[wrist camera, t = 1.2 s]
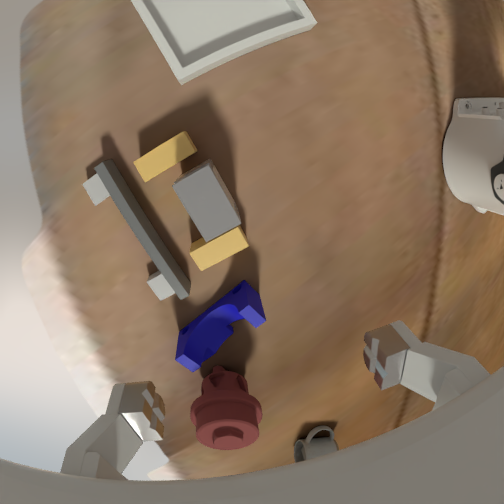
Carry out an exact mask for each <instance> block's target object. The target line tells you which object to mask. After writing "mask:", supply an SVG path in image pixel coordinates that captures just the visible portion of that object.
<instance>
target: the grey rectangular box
mask: <svg viewBox="0 0 504 504" xmlns="http://www.w3.org/2000/svg"><path fill="white" fill-rule="evenodd" d="M174 183H175V184H173V185H172V187H173V189H174V190H175V192H176V194H177V195H178V197H179V199H180V200H181V202H182V204H183V205H184V207H185V209H186V210H187V212H188V214H189V215H190V217H191V218H192V220H193V222H194V223H195V225H196V227H197V228H198V230H199V232H200V233H201V235H202V236H203V238H204V240H205V241H206V242H208V241H210V240H211V239H213V238H215V237H217V236H219V235H221V234H223V233H224V232H226V231H228V230H230V229H232V228H234V227H236V226H238V225H239V224H241V220H240V215H239V211H238V207H237V205H236V203H235V201H234V200H233V198H232V196H231V194H230V193H229V191H228V189H227V187H226V185H225V184H224V182H223V180H222V178H221V176H220V175H219V173H218V171H217V169H216V168H215V166H214V164H213V162H212V160H211V158H210V159H208V160H206V161H204V162H203V163H201V164H199V165H197V166H196V167H194V168H192V169H190V170H189V171H187V172H185V173H183V174H182V175H180V176H179V178H178V179H177V180H176V181H175V182H174Z"/></svg>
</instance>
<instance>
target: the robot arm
mask: <svg viewBox="0 0 504 504" xmlns="http://www.w3.org/2000/svg"><path fill="white" fill-rule="evenodd" d="M443 167H444V173H445V177H446V180H447V183H448V185H449V188H450V189H451V191H452V193H453V194H454V195H455V196H456V197H457V198H458V199H459V200H461V201H462V202H465V203H469V204H471V205H473V207H474V208H475V209H476V210H477V211H478V212H480V213H485V212H486V211H487V210H489V211H492V212H495V213H498V214H501V215H504V98H502V97H480V98H457V99H456V100H455V101H454V106H453V117H452V121H451V123H450V125H449V127H448V130H447V133H446V136H445V140H444V145H443ZM364 341H365V343H366V344H367V345H366V346H365V348H364V353H363V356H364V361H365V364H366V366H367V368H368V370H369V371H370V372H373V373H375V376H374V379H375V381H376V383H377V384H378V386H379V387H380V389H381V390H383V389H386V388H389V387H391V386H394V385H397V384H399V383H401V385H403V386H405V387H407V388H409V389H411V390H413V391H415V392H416V393H418V394H420V395H422V396H424V397H426V398H428V399H430V400H432V401H434V402H435V405H434V407H433V410H432V411H431V412H429V413H427V414H425V415H423V416H421V417H419V418H417V419H415V420H413V421H411V422H409V423H407V424H405V425H402V426H400V427H398V428H396V429H393V430H391V431H389V432H386V433H384V434H382V435H379V436H377V437H374V438H372V439H369V440H367V441H364V442H361V443H359V444H356V445H353V446H350V447H347V448H345V449H342V450H339V451H335V452H332V453H329V454H326V455H323V456H319V457H316V458H312V459H309V460H305V461H301V462H297V463H293V464H289V465H285V466H280V467H276V468H271V469H266V470H261V471H255V472H250V473H243V474H237V475H230V476H222V477H213V478H203V479H190V480H170V481H133V480H128V479H126V478H125V477H124V476H123V475H122V472H123V471H124V469H125V468H126V466H127V465H128V464H129V462H130V461H131V459H132V458H133V457H134V455H135V454H136V452H137V451H138V449H139V448H140V446H141V445H142V444H143V441H155V440H163V432H164V426H163V424H162V423H161V421H162V420H163V419H164V418H165V407H164V403H163V400H162V398H161V396H160V395H159V394H157V393H155V386H154V384H153V383H152V382H151V381H144V382H132V383H122V384H115V385H114V386H113V389H112V392H111V396H110V399H109V403H108V407H107V410H106V414H105V415H101V416H100V417H99V418H98V419H97V420H96V421H95V422H94V423H93V424H92V425H91V426H90V427H89V428H88V429H87V430H86V431H85V432H84V433H83V434H82V435H81V436H80V437H79V438H78V439H77V440H76V441H75V442H74V443H73V444H71V445H70V446H69V447H68V448H67V450H66V454H65V457H64V461H63V465H62V469H61V472H60V473H58V472H52V471H47V470H42V469H37V468H33V467H29V466H25V465H21V464H17V463H14V462H10V461H7V460H4V459H0V504H504V366H503V367H501V368H500V369H499V370H497V371H496V372H494V373H493V374H492V375H490V374H489V373H488V372H487V371H486V369H485V368H484V367H483V366H482V365H481V364H480V363H479V362H478V361H477V360H476V359H475V358H474V357H472V356H469V355H465V354H462V353H459V352H456V351H452V350H449V349H446V348H443V347H439V346H436V345H433V344H430V343H427V342H424V343H422V342H421V341H420V340H419V339H418V338H417V337H416V336H415V335H414V334H413V333H412V332H411V330H410V329H409V328H408V327H407V326H406V325H405V324H404V323H403V322H402V321H400V320H398V321H396V322H393V323H391V324H388V325H385V326H383V327H380V328H377V329H374V330H371V331H368V332H366V333H365V335H364Z"/></svg>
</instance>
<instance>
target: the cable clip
mask: <svg viewBox="0 0 504 504" xmlns="http://www.w3.org/2000/svg"><path fill="white" fill-rule="evenodd" d="M240 319H246V320H247V321H248V322H250V323H251V324H252V325H253V326H254V327H255V328H257V327H258V326H259V325H261V324H262V323H264V322H265V321H266V318H265V314H264V311H263V307H262V303H261V299H260V295H259V294H258V293H257V292H256V291H255V290H254V289H253V288H252V287H251V286H250V285H249V284H248V283H247V282H246V281H245V280H243V281H242V282H241V283H240V284H238V285H237V286H236V287H235V288H234V289H232V290H231V291H230V292H229V293H227V294H226V295H225V296H224V297H222V298H221V299H220V300H219V301H217V302H216V303H215V304H214V305H212V306H211V307H210V308H209V309H207V310H206V311H205V312H204V313H202V314H201V315H200V316H199V317H197V318H196V319H195V320H194V321H192V322H191V323H190V324H188V325H187V326H186V327H185V328H183V329H182V330H181V331H180V332H179V337H178V344H177V351H176V358H175V360H176V361H177V362H179V363H180V364H182V365H183V366H185V367H186V368H187V369H189V370H190V371H192V372H194V371H196V370H197V369H199V368H200V367H201V363H202V362H204V361H205V360H207V359H208V358H209V357H211V356H212V355H214V354H215V353H216V352H217V350H218V349H219V347H220V346H221V345H222V343H223V342H224V341H225V340H226V339H227V338H228V337H229V336H230V335H232V334H233V327H232V326H231V325H230V323H232V322H234V321H237V320H240Z"/></svg>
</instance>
